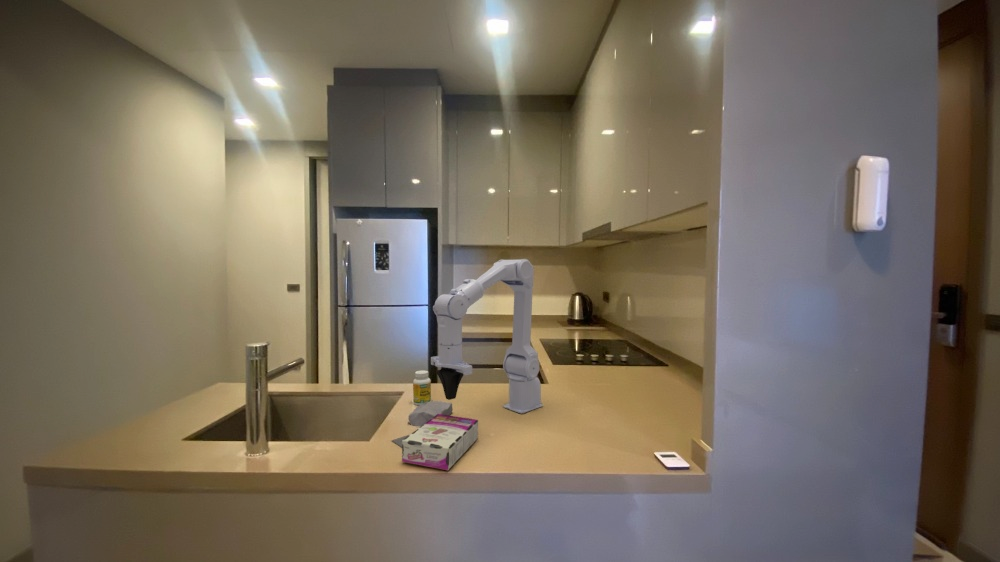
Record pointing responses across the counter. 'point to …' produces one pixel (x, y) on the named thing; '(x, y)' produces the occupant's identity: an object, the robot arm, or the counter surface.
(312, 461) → the counter surface
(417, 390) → the supplement bottle
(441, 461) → the candy bar box
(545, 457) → the counter surface
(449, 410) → the stone block
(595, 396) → the counter surface
